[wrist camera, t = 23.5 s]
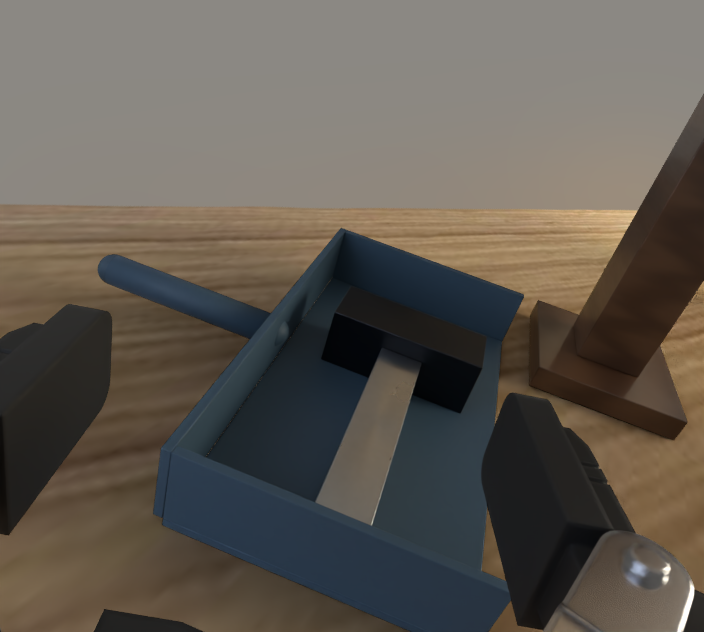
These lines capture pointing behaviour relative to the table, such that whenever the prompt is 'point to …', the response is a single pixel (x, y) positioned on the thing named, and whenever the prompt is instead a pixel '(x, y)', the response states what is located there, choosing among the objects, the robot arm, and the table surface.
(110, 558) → the table surface
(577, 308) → the table surface
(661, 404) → the stand
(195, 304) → the scoop
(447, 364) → the t-shaped mallet
